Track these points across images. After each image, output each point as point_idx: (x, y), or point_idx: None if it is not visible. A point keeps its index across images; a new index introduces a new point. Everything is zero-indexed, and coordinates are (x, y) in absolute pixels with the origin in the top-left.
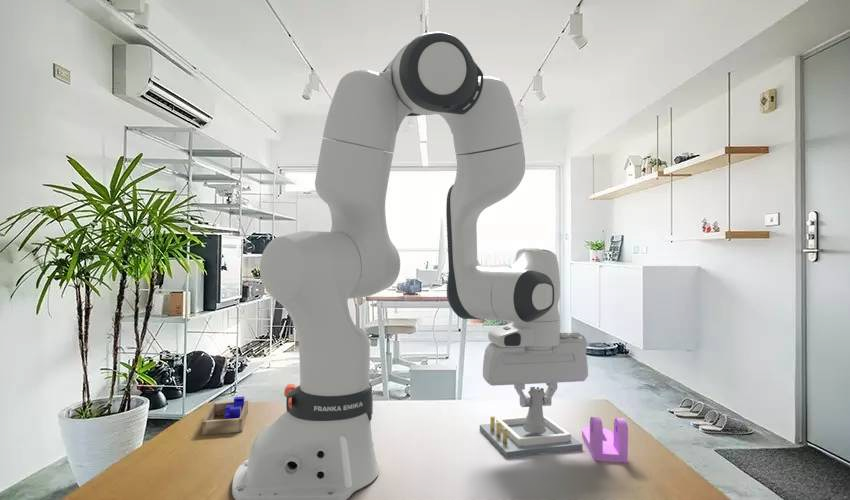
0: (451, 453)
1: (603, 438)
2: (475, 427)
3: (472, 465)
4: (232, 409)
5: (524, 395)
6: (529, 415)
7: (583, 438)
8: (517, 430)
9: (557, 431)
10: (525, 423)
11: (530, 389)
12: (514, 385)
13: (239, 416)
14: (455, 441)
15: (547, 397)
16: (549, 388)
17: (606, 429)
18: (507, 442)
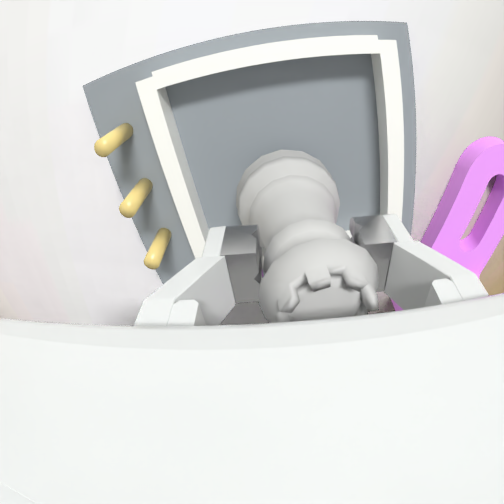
0: (47, 250)
1: (490, 201)
2: (80, 61)
3: (99, 300)
4: None
5: (221, 319)
6: (260, 237)
7: (449, 184)
8: (227, 135)
9: (382, 179)
10: (241, 221)
11: (280, 300)
12: (143, 316)
13: None
14: (38, 185)
15: (378, 289)
16: (428, 291)
17: None
18: (172, 236)
